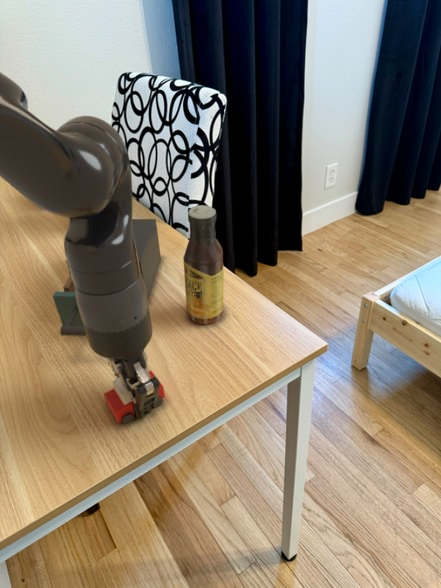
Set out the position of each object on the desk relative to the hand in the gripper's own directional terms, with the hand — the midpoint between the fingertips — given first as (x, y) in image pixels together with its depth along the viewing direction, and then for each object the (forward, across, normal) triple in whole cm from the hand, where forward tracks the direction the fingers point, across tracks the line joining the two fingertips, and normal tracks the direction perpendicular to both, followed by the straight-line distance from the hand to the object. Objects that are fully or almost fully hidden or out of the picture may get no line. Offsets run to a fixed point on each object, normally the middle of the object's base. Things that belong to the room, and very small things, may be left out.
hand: (136, 403), depth 59 cm
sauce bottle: (0, +10, -18) cm, 21 cm away
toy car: (0, 0, 0) cm, 0 cm away
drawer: (-1, +19, -3) cm, 19 cm away
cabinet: (0, +28, -11) cm, 30 cm away
